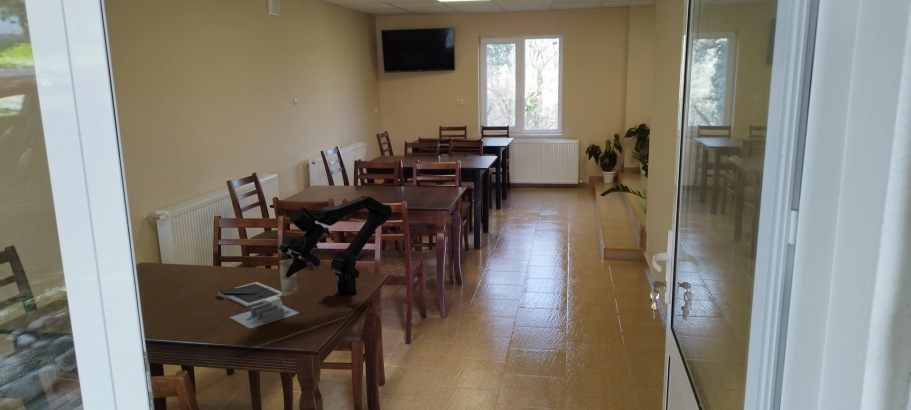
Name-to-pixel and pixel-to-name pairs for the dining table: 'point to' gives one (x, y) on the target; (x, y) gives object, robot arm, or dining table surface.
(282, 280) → the birch panel
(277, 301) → the offcut stack
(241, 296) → the picture frame
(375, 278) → the dining table surface
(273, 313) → the slot rack
